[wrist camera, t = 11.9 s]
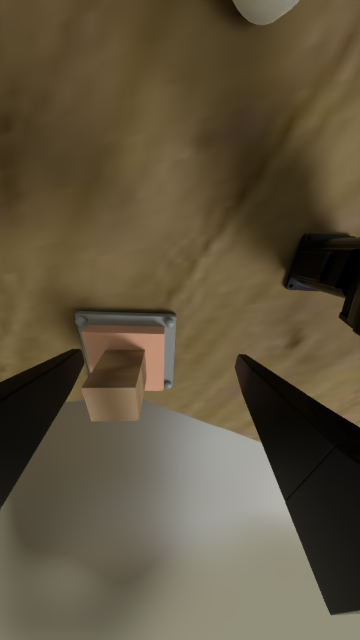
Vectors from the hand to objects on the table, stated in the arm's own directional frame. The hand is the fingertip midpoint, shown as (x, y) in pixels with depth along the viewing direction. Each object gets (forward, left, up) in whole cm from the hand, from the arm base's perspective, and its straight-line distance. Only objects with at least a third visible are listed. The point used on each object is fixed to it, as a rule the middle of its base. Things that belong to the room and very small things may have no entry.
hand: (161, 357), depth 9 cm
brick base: (+5, +9, -13) cm, 16 cm away
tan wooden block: (+5, +9, -10) cm, 14 cm away
